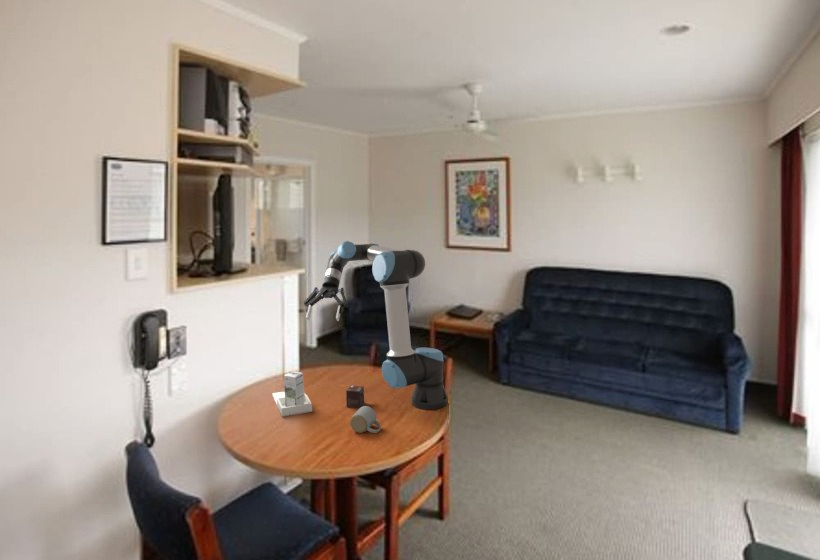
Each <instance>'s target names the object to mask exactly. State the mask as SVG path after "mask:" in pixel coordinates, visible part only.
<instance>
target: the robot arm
mask: <svg viewBox="0 0 820 560" xmlns="http://www.w3.org/2000/svg"><path fill="white" fill-rule="evenodd" d="M425 259H426V258H425V257H424V255H423V254H422V253H421V252H419V251H418V250H414V249H405V250H400V249H395V248H390V247H385V246H380V245H379V244H378V243H364V244H354V242H352V241H349V240H345V241H343V242H342V243H341V244H340V245H339V246H338V247H337V249H336V250H334V251H332V252H331V253H330V255H329V258H328V261H327V266H326V270H325V274H324V277H323V282H322V285H321V287H320V288H318V287H316V286H315V287H314V289H313V290H312V292H311V293H310V294H309V295H308V297H306V298H305V300H304V301H303V305H304V306H305V307H306V308H305V312H306V315H305V318H306V320H307V321H310V318H311V315H312V312H313V306H315V304H317V303H318V302H320V301H321V300H323V299H332V298H333V299H334V300H335V301H336V302H337V304H338V306H337V310H336V311H337V312H336V314H335V319H336V321H337V322H339V321H340V318H341V315H343V313H344V309H345V308H349V304H348V301H347V298H346V296H345V289H344V287H340V283H341V279H342V275H343V272H344V271H343V270H344V268H345V266H346V265H347V264H348V263H349V262H354V261H355V262H356V261H357V262H358V261H370V262H373V263H372V268H371V271H372V275H373V277H374V280H375V281H376V282H378V283H379V287H380V288H381V289H382V290H383V292H384V303H385V312H386V313H385V314H386V321H387V323H386V324H387V334H388V343H389V344H388V345H389V351H388V352H387V353H386V360H384V361H383V362H382V365H381V373H382V377H383V379H384V381H385V382H386V384H387V385H388V386H389V387H390V388H392V389H400V388H401V389H402V388H403V389H404V388H406V387H409V386H412V385H414V388H413V391H412V394H411V395H412V396H411V405H413V406H414V407H416V408H418V409H421V410H438V409H441V408H444V407H446V406H447V405H448V395H447V392H446V389H445V387H444V354H443V351H441V350H439V349H437V348H432V347H417V348H415V349H413V348H412V345H411V344H412V343H411V342H412V341H411V333H410V332H411V331H410V322H409V312H408V299H407V287H408V286H409V285H410V280H409V279H415V278H417V277H419V276H420V275H421V274H423V272H424V270H425V268H426V260H425ZM338 293H339V294H341V298H342V300H343V302H342V301H341V299H340V298H339V297H338Z"/></svg>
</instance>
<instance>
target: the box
mask: <svg viewBox="0 0 820 560" xmlns="http://www.w3.org/2000/svg"><path fill="white" fill-rule="evenodd" d="M364 387H365V386H362V385H350V386H348V387H347V389H346V392H345V395H346V397H345V398H346V408H351V409H352V408H353V409H354V408H355V409H360V408H361V407H363V406H364V404H365V390H364V389H365V388H364Z"/></svg>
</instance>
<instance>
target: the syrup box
mask: <svg viewBox="0 0 820 560" xmlns="http://www.w3.org/2000/svg"><path fill="white" fill-rule="evenodd" d="M283 382H284V383H283V384H284V386H283V387H284V391H285V404H286V407H290V406H296V405H302V404H305V403H304V394H305V388H304V373H303V372H300V371H299V372H298V371H290V372H288V373H285V374H284V375H283Z"/></svg>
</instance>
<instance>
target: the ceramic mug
mask: <svg viewBox="0 0 820 560" xmlns="http://www.w3.org/2000/svg"><path fill="white" fill-rule="evenodd" d="M349 424H350V427H351V429H352V430H353V431H354V432H356V433H359V434H363V433H365V432H366V431H368V432H370V433H371V434H377V433H379V432H380V431H381V428H382V425H381V423H379V421H378V420H377V413H376V411H375V410H374V409H373V408H372V407H370V406H368V405H362V407H361V408H358V410H357V411H356V412H355V413H354V414H353V415H352V416H351V419H350V423H349ZM373 425H376V427H377V428H378V429H373V428H372V426H373Z"/></svg>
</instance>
